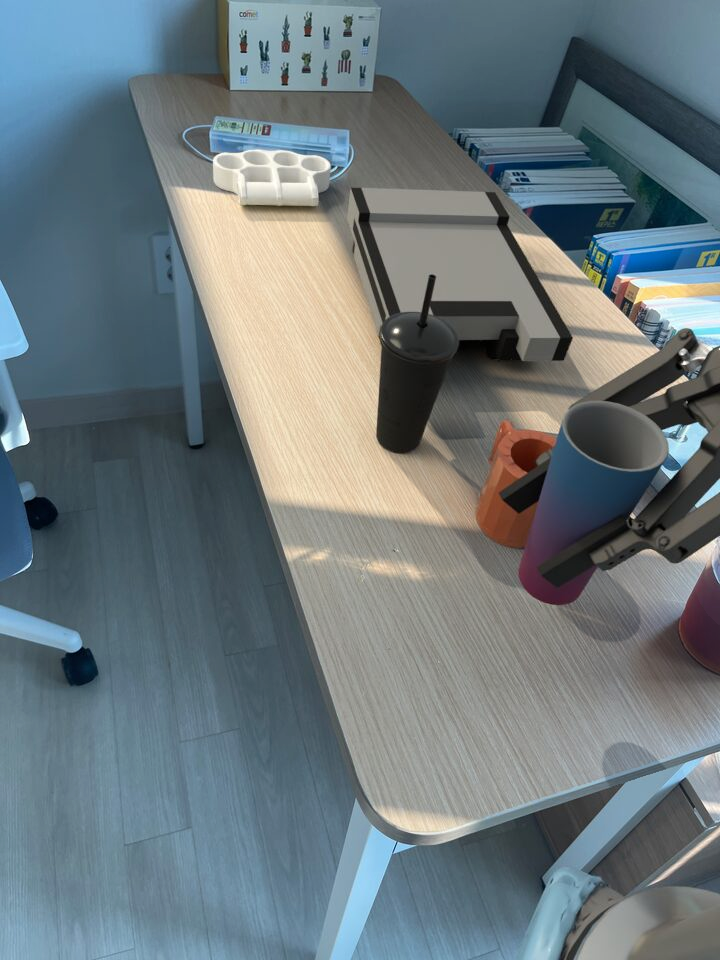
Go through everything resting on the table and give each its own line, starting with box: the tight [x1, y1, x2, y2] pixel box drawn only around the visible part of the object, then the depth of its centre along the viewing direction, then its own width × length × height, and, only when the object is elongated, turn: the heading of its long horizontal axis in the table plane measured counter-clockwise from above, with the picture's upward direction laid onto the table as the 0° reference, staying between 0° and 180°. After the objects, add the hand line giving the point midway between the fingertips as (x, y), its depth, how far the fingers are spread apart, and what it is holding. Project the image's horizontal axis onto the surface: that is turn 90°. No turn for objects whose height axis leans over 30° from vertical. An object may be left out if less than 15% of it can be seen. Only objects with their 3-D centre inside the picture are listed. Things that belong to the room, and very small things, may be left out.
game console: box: [346, 186, 574, 362], centre depth 97 cm, size 21×32×8 cm, turn 10°
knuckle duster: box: [212, 148, 332, 207], centre depth 116 cm, size 3×18×15 cm
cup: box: [518, 401, 670, 606], centre depth 53 cm, size 7×7×15 cm
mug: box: [475, 419, 557, 549], centre depth 73 cm, size 10×7×9 cm
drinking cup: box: [375, 274, 460, 454], centre depth 75 cm, size 8×8×20 cm
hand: (527, 538), depth 54 cm, fingers closed on cup, 6 cm apart
